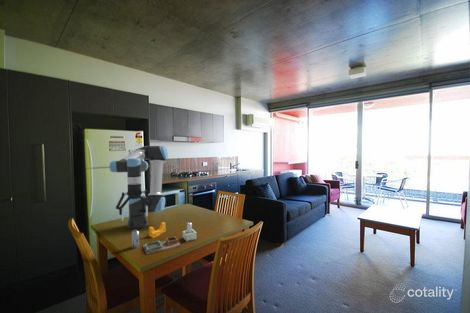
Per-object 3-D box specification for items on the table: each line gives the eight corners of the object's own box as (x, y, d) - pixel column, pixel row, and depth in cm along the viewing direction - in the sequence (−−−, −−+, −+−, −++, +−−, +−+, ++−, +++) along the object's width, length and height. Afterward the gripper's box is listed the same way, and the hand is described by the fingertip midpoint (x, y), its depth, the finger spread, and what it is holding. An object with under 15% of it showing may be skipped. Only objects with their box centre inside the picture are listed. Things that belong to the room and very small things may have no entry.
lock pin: (186, 237, 141) (186, 222, 140) (190, 236, 142) (190, 221, 142) (187, 239, 138) (188, 224, 137) (192, 238, 140) (192, 223, 139)
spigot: (131, 246, 129) (131, 229, 128) (138, 245, 131) (138, 228, 130) (132, 249, 125) (132, 231, 125) (139, 247, 127) (139, 230, 127)
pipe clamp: (153, 238, 142) (153, 228, 141) (149, 236, 144) (149, 227, 144) (167, 232, 152) (167, 223, 152) (163, 230, 154) (163, 222, 154)
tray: (182, 237, 141) (182, 231, 141) (192, 235, 145) (192, 229, 145) (186, 241, 135) (186, 234, 135) (196, 239, 139) (196, 232, 139)
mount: (143, 246, 128) (143, 241, 128) (175, 239, 139) (175, 234, 139) (146, 255, 118) (146, 249, 118) (181, 246, 129) (181, 240, 129)
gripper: (110, 186, 117) (111, 223, 117) (157, 182, 130) (157, 216, 131) (110, 184, 123) (111, 220, 124) (154, 181, 136) (155, 213, 137)
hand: (135, 218), depth 127 cm, fingers open, 13 cm apart
